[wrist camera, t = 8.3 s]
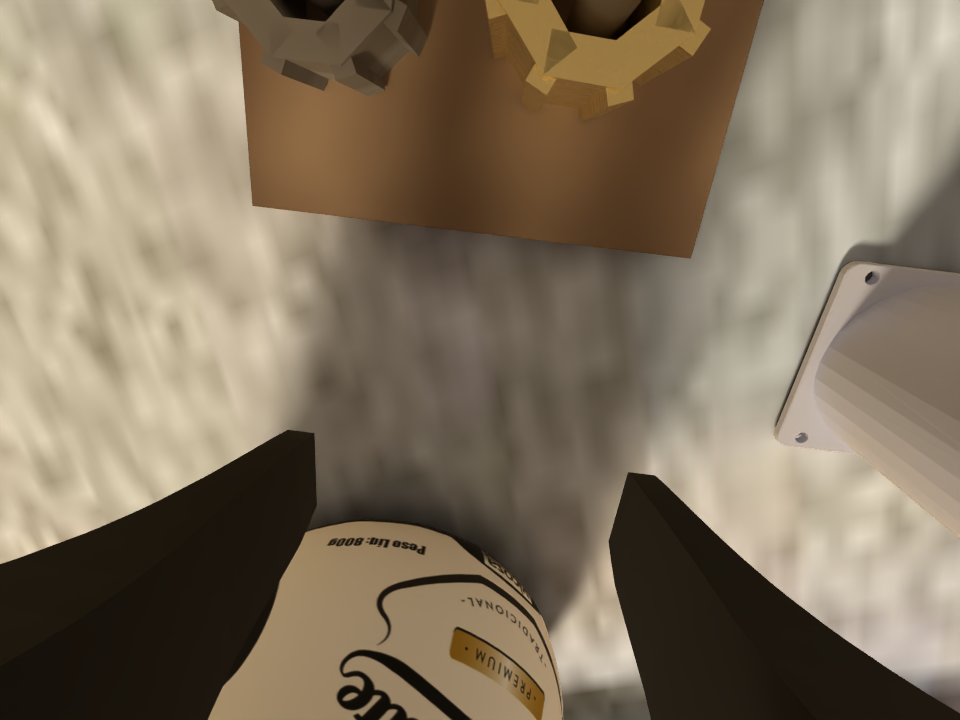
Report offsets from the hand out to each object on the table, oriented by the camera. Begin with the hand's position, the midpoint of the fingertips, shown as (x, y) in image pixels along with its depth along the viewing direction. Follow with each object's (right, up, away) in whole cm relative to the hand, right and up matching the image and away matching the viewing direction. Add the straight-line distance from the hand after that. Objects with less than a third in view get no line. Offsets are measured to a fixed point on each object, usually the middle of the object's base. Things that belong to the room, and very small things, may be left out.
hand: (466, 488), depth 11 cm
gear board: (+1, +13, +5) cm, 14 cm away
